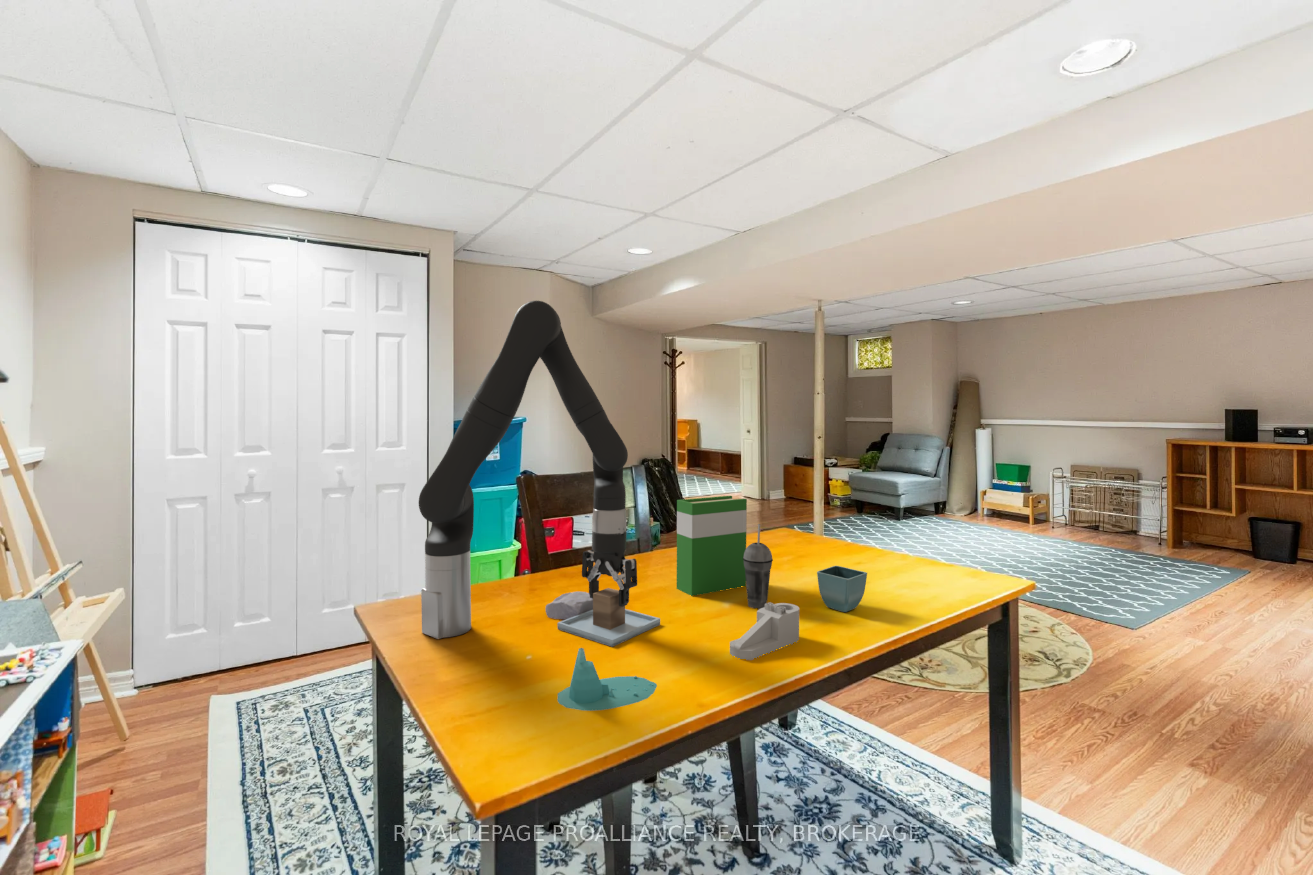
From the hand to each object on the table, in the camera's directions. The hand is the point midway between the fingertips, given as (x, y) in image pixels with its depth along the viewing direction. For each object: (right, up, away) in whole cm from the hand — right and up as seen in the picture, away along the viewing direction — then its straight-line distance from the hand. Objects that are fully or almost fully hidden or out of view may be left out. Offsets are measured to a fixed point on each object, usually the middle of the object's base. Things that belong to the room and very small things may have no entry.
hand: (608, 601), depth 131 cm
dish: (0, -6, 0) cm, 6 cm away
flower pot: (+56, -6, +13) cm, 57 cm away
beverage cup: (+35, -5, +15) cm, 39 cm away
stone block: (-10, -6, +11) cm, 15 cm away
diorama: (+3, -8, -30) cm, 31 cm away
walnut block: (0, -5, 0) cm, 5 cm away
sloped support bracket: (+33, -7, -10) cm, 35 cm away
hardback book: (+26, -5, +30) cm, 39 cm away
